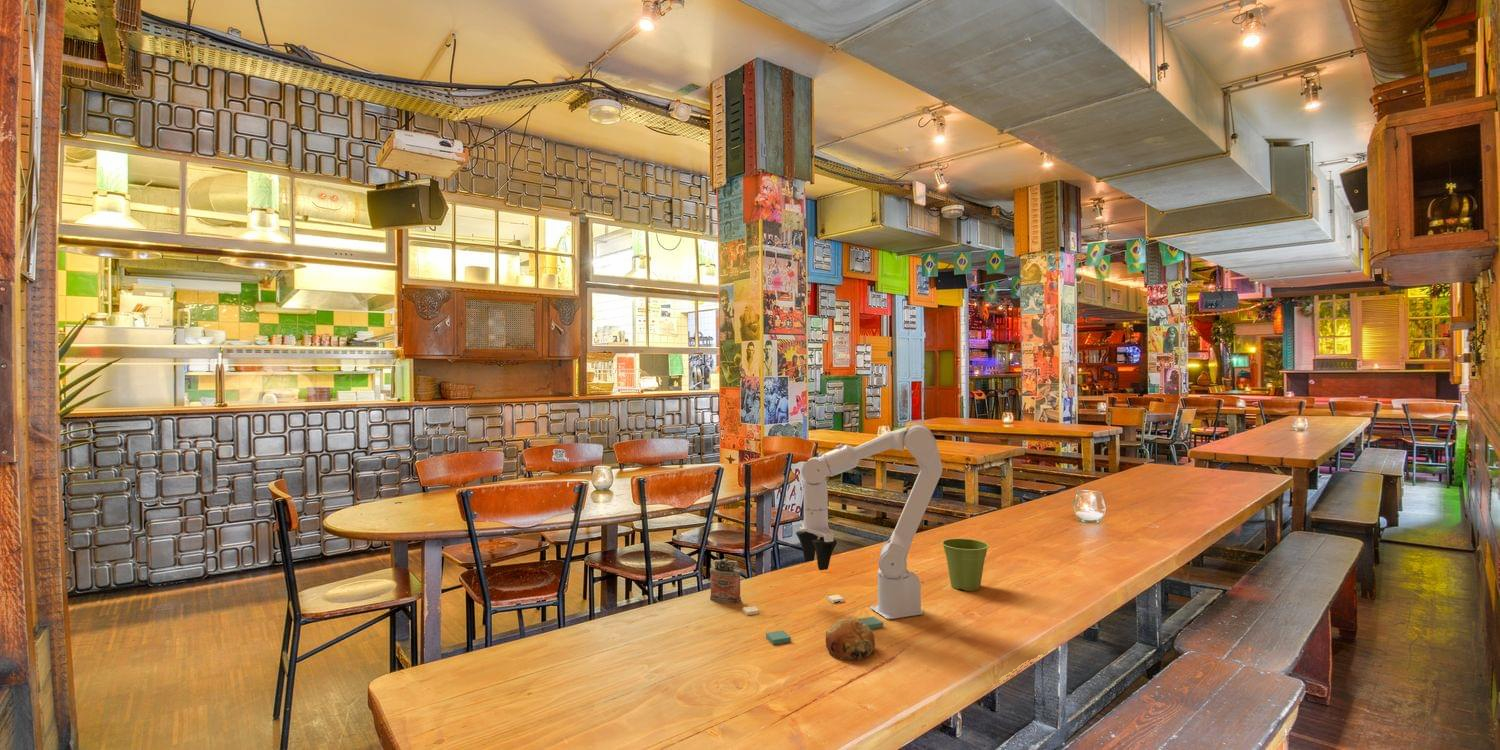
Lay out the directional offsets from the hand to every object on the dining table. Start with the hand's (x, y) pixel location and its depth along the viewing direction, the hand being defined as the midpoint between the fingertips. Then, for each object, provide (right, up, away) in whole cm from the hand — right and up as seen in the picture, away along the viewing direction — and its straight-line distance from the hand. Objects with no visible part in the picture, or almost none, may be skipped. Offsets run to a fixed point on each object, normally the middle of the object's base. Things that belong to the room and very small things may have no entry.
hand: (816, 565), depth 160 cm
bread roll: (+4, -11, -25) cm, 27 cm away
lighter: (-22, -10, +5) cm, 25 cm away
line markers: (-2, -10, -8) cm, 13 cm away
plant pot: (+40, -10, +13) cm, 43 cm away
